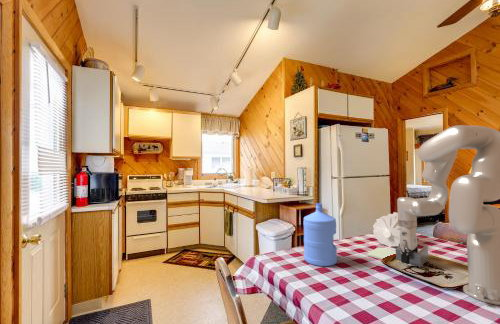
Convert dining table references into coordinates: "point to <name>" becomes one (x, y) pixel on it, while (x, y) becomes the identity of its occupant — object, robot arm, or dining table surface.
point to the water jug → (319, 238)
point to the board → (381, 253)
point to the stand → (416, 247)
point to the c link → (414, 256)
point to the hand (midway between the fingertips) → (408, 260)
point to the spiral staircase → (387, 230)
